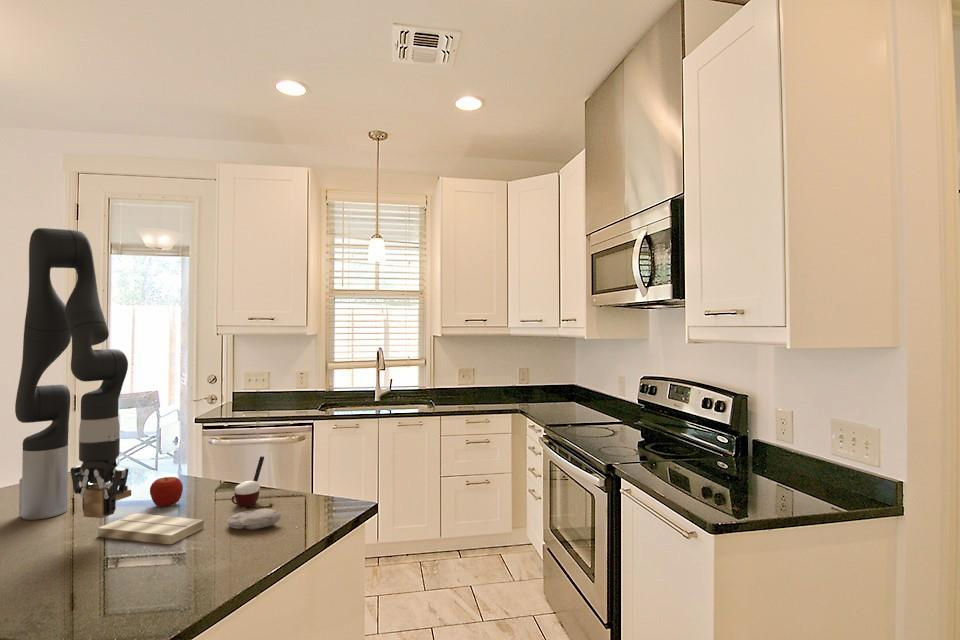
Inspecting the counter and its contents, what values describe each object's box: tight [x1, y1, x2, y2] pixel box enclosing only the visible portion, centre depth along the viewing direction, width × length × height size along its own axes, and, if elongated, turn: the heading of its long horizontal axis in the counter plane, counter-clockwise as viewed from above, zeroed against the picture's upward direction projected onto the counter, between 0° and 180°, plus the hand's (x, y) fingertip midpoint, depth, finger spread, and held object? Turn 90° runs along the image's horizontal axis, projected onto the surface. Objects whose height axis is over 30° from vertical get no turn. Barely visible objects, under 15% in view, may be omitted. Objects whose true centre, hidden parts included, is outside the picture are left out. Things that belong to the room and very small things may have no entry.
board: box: [97, 512, 205, 545], centre depth 127 cm, size 20×10×2 cm, turn 77°
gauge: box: [83, 484, 132, 519], centre depth 124 cm, size 5×9×7 cm, turn 167°
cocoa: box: [231, 455, 265, 507], centre depth 147 cm, size 10×6×12 cm, turn 127°
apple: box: [149, 476, 184, 508], centre depth 146 cm, size 8×8×8 cm
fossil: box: [226, 508, 282, 530], centre depth 131 cm, size 12×4×10 cm
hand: (99, 513), depth 121 cm, fingers closed on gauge, 5 cm apart
